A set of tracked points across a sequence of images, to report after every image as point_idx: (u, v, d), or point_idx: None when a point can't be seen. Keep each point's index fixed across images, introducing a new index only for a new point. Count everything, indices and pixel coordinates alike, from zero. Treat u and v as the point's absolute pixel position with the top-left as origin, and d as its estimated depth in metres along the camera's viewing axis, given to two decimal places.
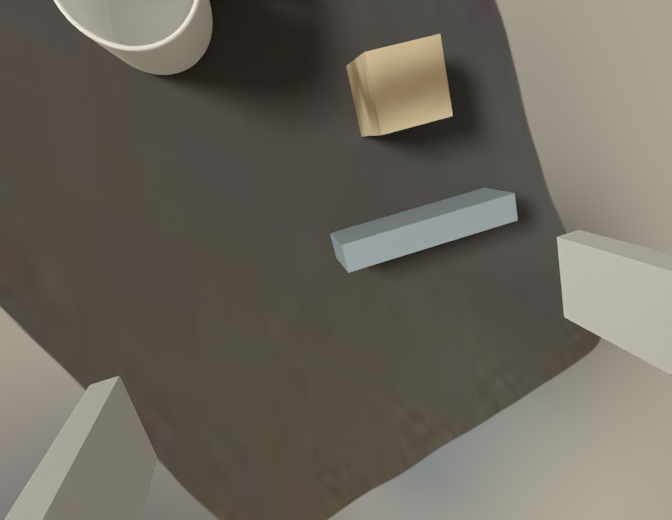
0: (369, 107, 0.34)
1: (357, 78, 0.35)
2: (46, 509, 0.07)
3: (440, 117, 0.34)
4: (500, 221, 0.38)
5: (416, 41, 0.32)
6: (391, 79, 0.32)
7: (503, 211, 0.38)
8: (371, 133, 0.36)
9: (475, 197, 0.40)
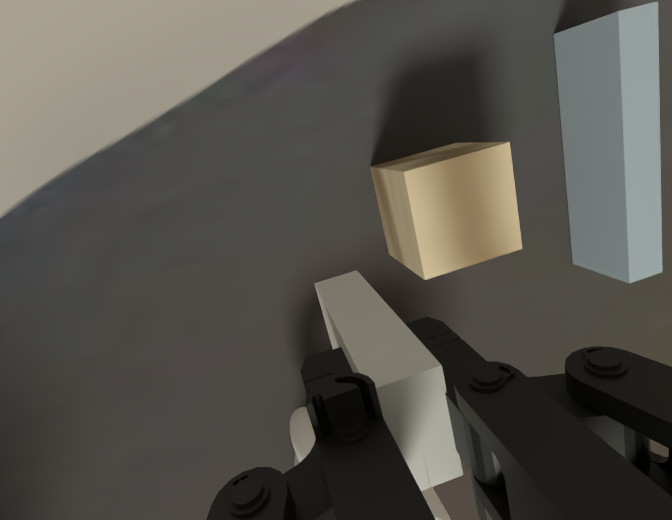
0: None
1: None
2: (372, 330, 0.10)
3: (509, 162, 0.23)
4: (652, 36, 0.24)
5: (413, 208, 0.22)
6: (458, 240, 0.23)
7: (639, 31, 0.24)
8: None
9: (587, 67, 0.26)
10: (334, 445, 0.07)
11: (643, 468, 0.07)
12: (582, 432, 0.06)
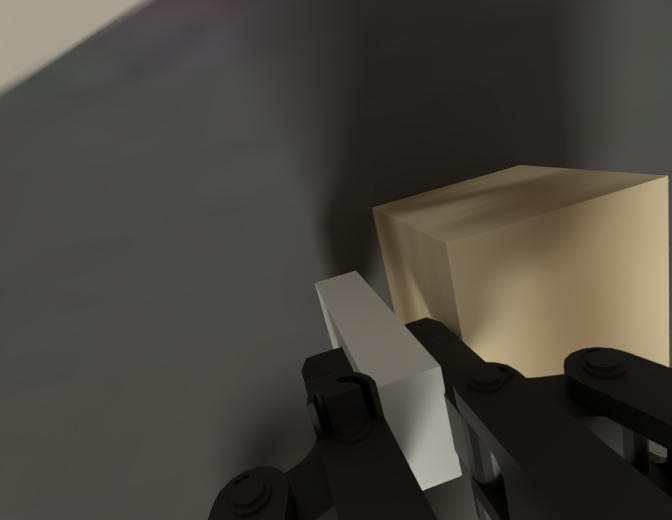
0: None
1: None
2: (373, 330, 0.10)
3: (663, 217, 0.11)
4: None
5: (463, 316, 0.10)
6: (551, 373, 0.12)
7: None
8: None
9: None
10: (335, 445, 0.07)
11: (641, 468, 0.07)
12: (581, 432, 0.06)
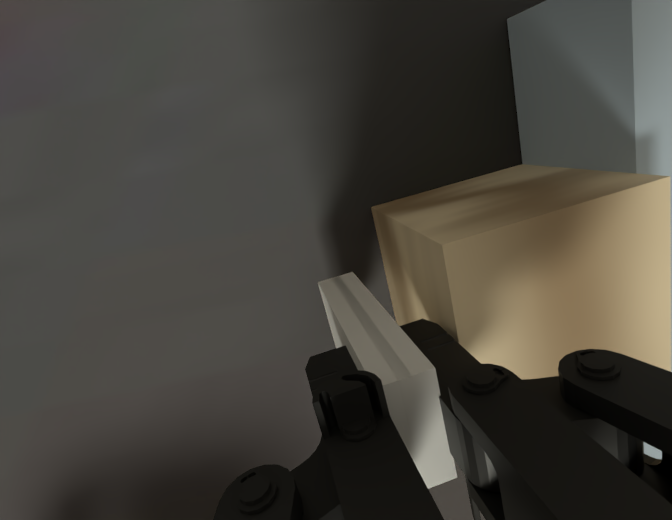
0: None
1: None
2: (377, 328, 0.10)
3: (665, 218, 0.11)
4: None
5: (460, 318, 0.10)
6: (549, 376, 0.11)
7: None
8: None
9: (566, 84, 0.13)
10: (341, 443, 0.07)
11: (636, 471, 0.07)
12: (576, 434, 0.06)
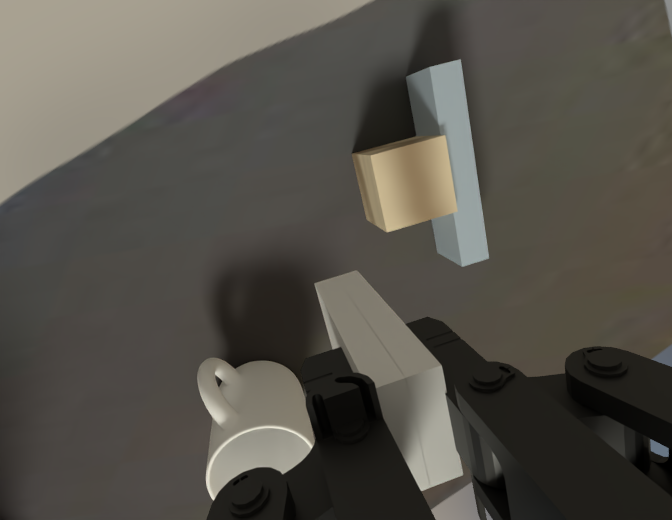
0: None
1: None
2: (372, 330, 0.10)
3: (445, 149, 0.33)
4: (459, 83, 0.32)
5: (377, 180, 0.32)
6: (410, 204, 0.33)
7: (448, 80, 0.32)
8: None
9: (422, 103, 0.35)
10: (334, 445, 0.07)
11: (643, 468, 0.07)
12: (582, 432, 0.06)
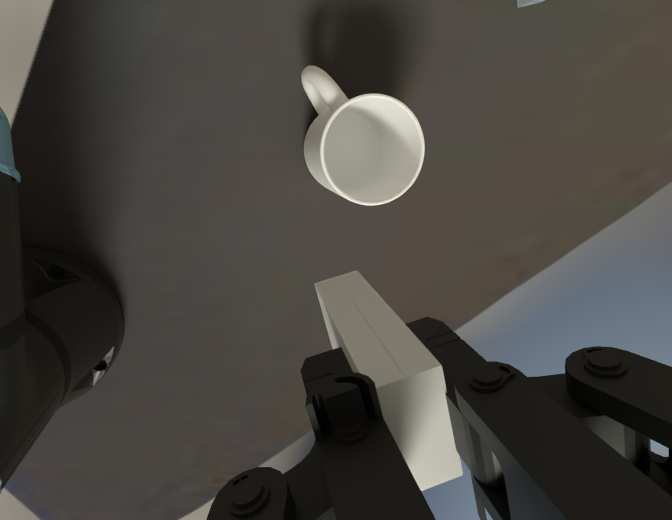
0: None
1: None
2: (372, 330, 0.10)
3: None
4: None
5: None
6: None
7: None
8: None
9: None
10: (334, 445, 0.07)
11: (643, 468, 0.07)
12: (582, 432, 0.06)
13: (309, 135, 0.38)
